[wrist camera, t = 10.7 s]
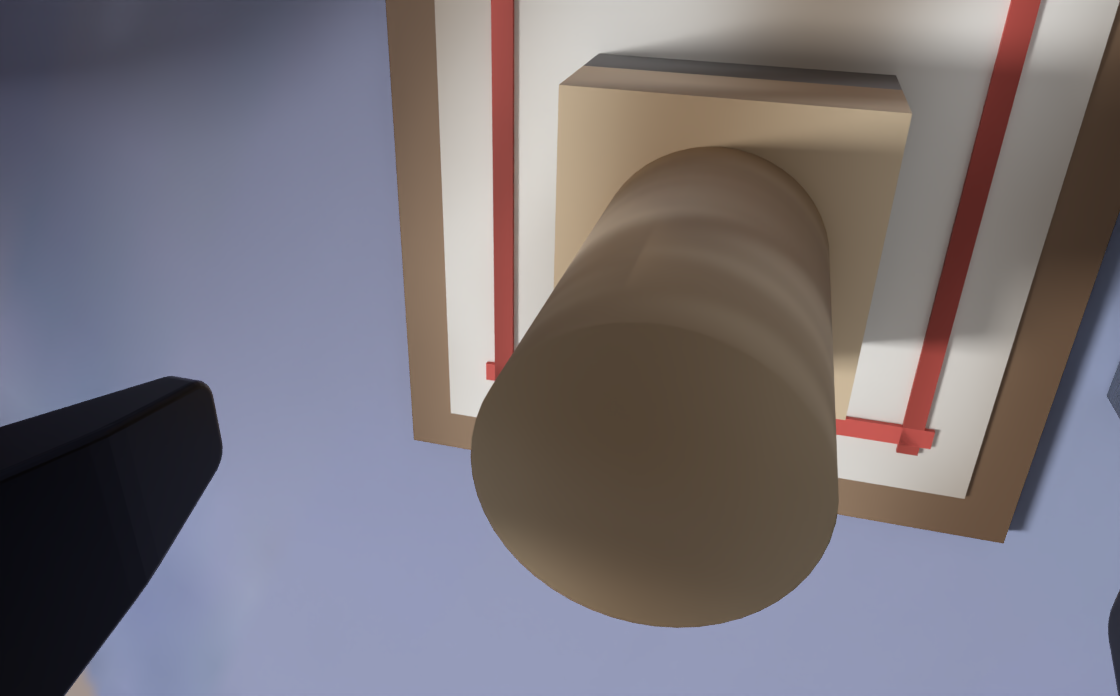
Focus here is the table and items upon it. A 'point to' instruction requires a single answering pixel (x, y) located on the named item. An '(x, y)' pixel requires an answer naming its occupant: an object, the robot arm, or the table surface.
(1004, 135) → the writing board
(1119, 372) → the dark grey flat block
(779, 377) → the stamp
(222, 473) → the table surface
